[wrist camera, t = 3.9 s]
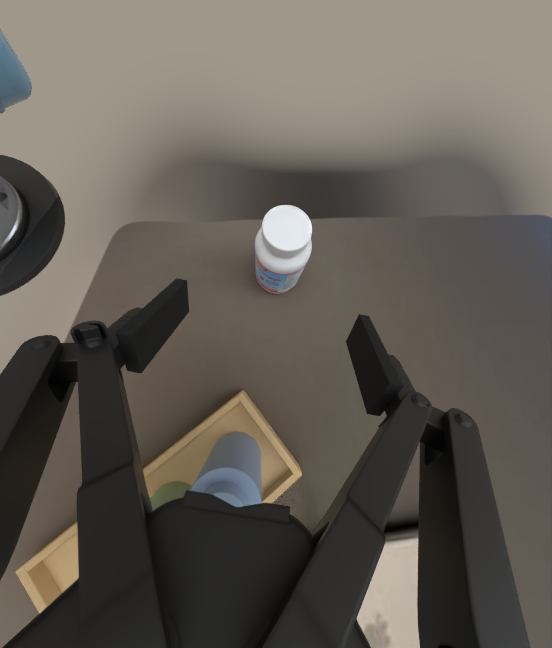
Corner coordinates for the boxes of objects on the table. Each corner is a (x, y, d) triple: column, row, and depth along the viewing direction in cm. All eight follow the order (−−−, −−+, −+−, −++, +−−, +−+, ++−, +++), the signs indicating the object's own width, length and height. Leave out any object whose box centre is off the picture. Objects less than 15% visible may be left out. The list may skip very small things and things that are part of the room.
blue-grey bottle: (201, 473, 25) (145, 579, 13) (224, 423, 27) (192, 477, 14) (247, 495, 25) (236, 621, 13) (269, 443, 26) (276, 516, 14)
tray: (95, 649, 23) (77, 681, 21) (38, 551, 24) (14, 572, 22) (299, 465, 27) (302, 474, 25) (243, 389, 28) (241, 391, 26)
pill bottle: (247, 270, 31) (239, 219, 20) (281, 246, 32) (292, 185, 21) (273, 303, 30) (281, 270, 19) (307, 278, 31) (333, 233, 20)
